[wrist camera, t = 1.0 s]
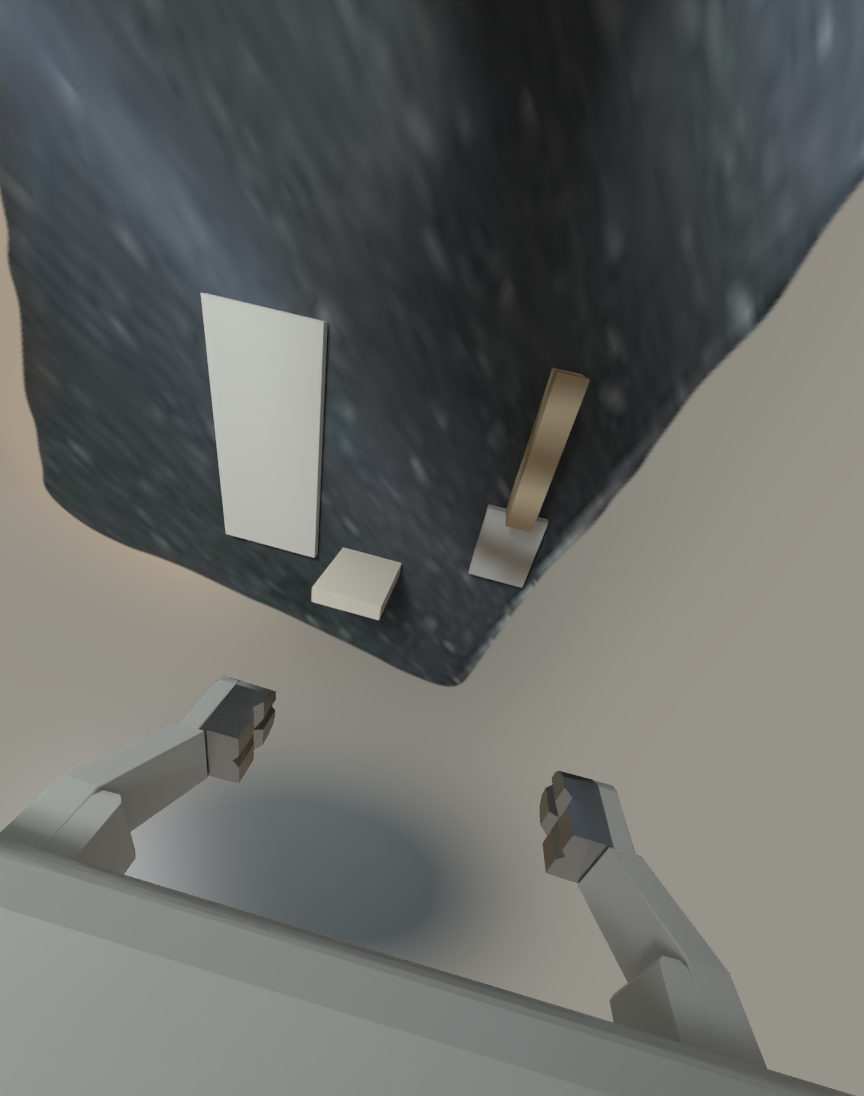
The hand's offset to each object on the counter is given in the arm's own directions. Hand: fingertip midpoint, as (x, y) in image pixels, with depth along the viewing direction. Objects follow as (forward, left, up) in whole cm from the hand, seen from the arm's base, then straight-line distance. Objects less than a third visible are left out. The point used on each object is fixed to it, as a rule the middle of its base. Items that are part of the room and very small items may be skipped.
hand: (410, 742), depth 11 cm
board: (+4, -21, -29) cm, 36 cm away
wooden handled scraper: (+2, +5, -29) cm, 30 cm away
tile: (+15, -9, -29) cm, 34 cm away
